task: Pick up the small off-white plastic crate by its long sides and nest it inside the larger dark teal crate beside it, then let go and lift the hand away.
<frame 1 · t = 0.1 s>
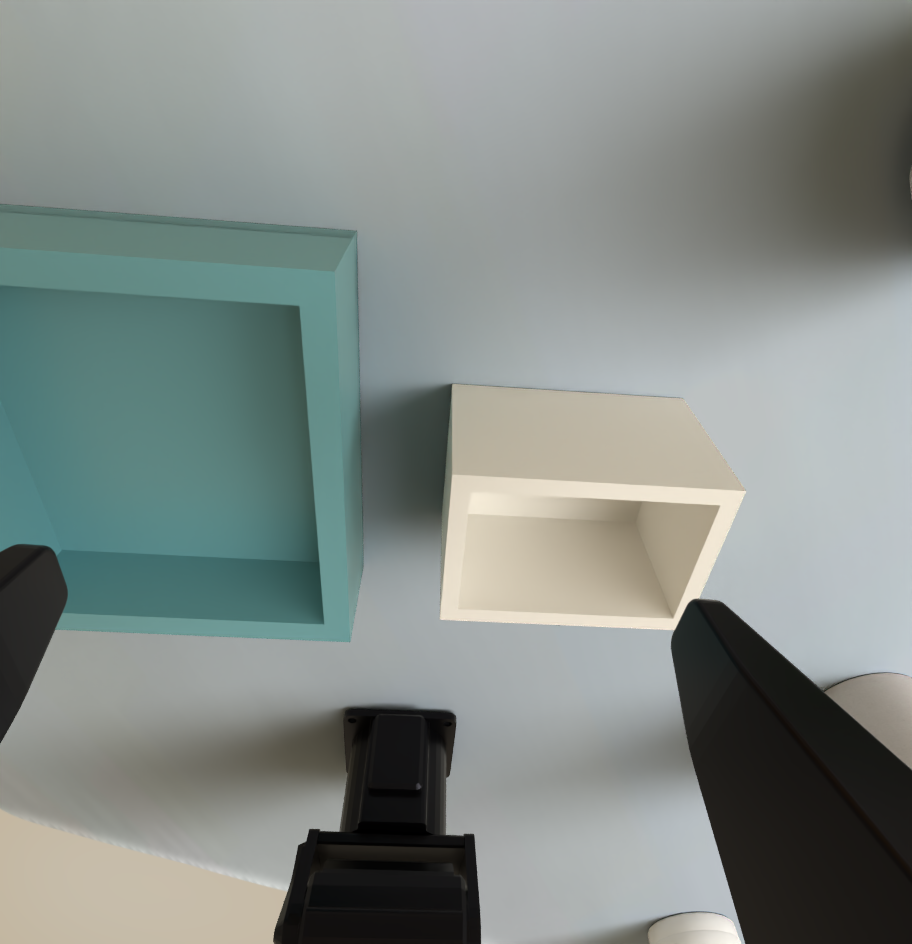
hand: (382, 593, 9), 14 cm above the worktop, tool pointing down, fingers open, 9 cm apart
small crate: (554, 460, 25), on the worktop
coffee cup: (861, 704, 35), on the worktop
big crate: (181, 417, 23), on the worktop
bottle: (689, 925, 54), on the worktop
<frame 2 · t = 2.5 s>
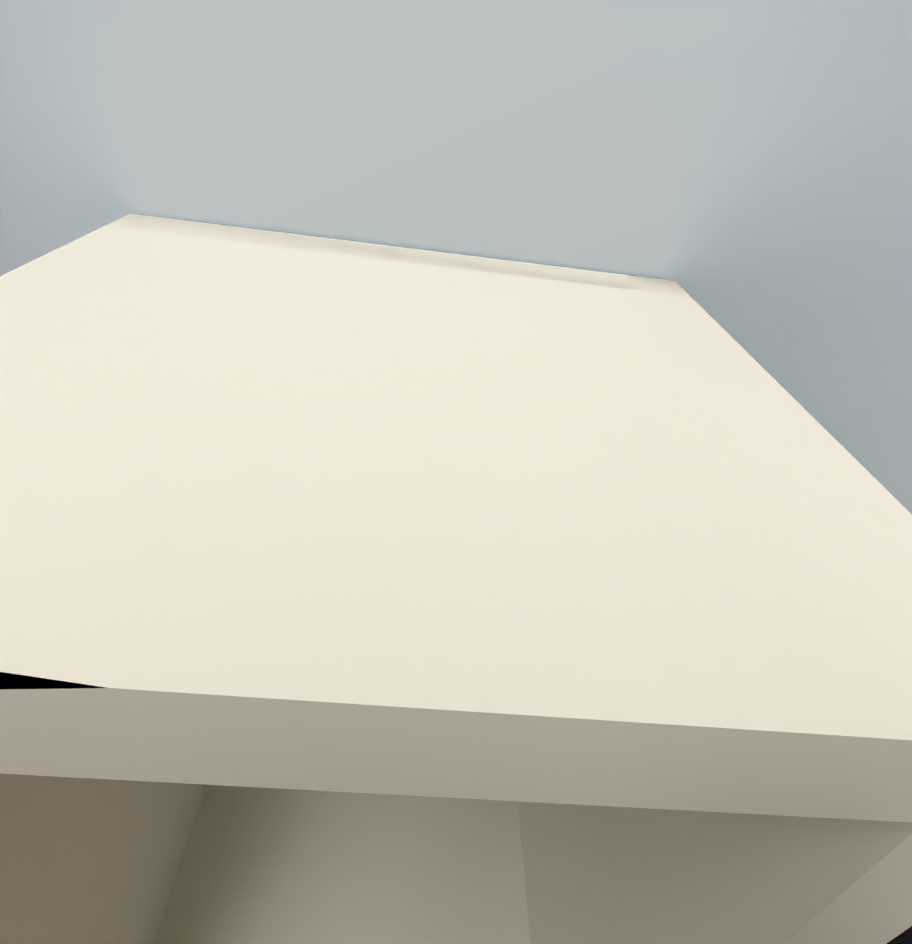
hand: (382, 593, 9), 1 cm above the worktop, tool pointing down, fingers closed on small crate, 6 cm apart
small crate: (389, 537, 10), on the worktop, touching gripper
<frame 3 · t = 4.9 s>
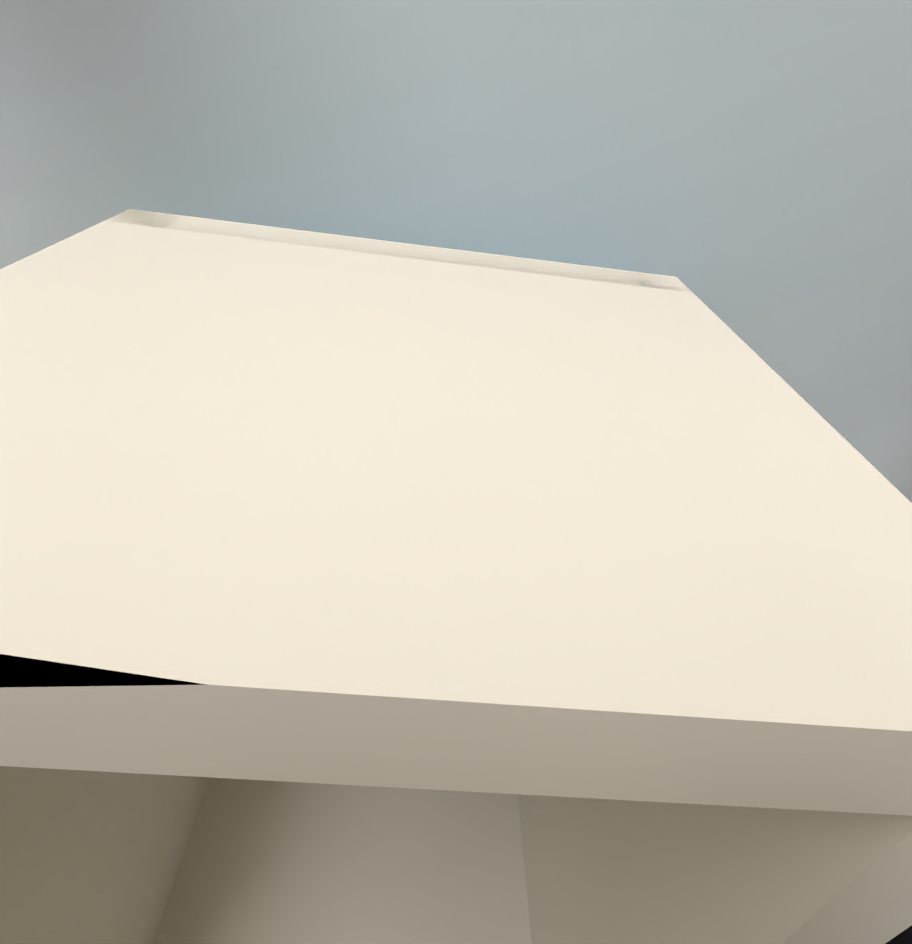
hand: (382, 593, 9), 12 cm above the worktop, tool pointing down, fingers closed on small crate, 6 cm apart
small crate: (390, 534, 10), point 10 cm above the worktop, touching gripper
when the fingers open (4 cm above the worktop, at t = 7.7 s): small crate drops 2 cm, resting on big crate.
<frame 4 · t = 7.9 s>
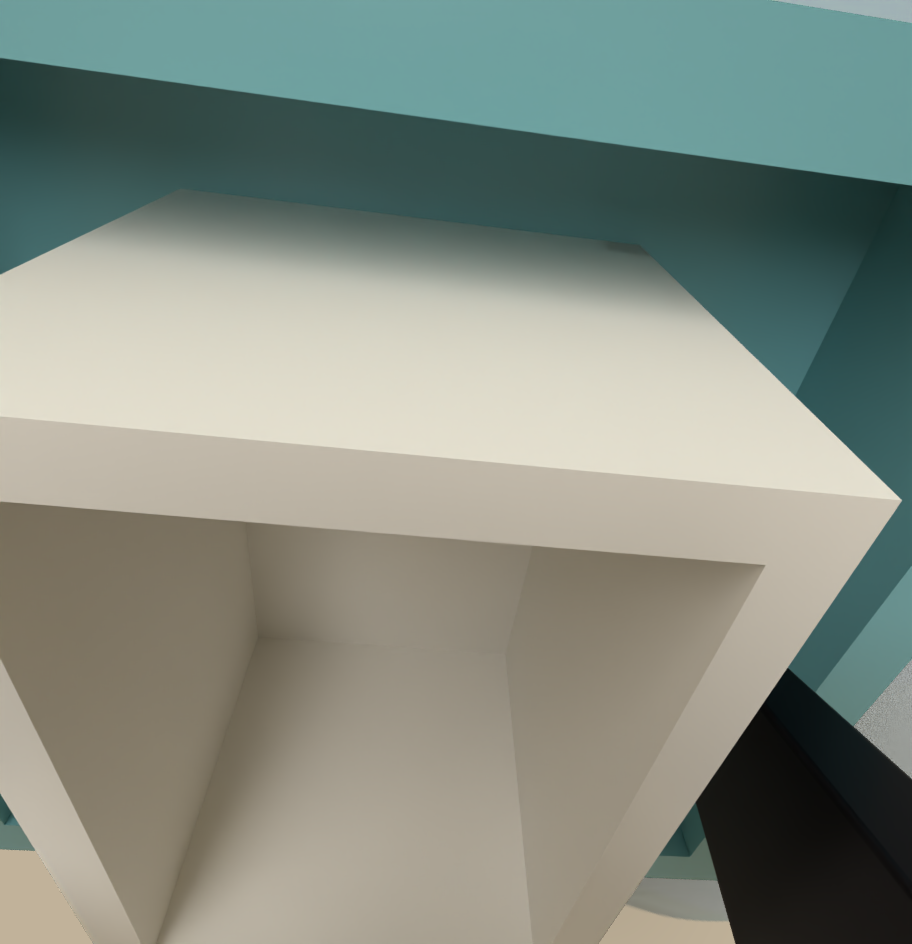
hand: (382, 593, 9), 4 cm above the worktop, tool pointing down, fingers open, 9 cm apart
small crate: (396, 479, 11), point 1 cm above the worktop, touching big crate
big crate: (399, 451, 12), on the worktop
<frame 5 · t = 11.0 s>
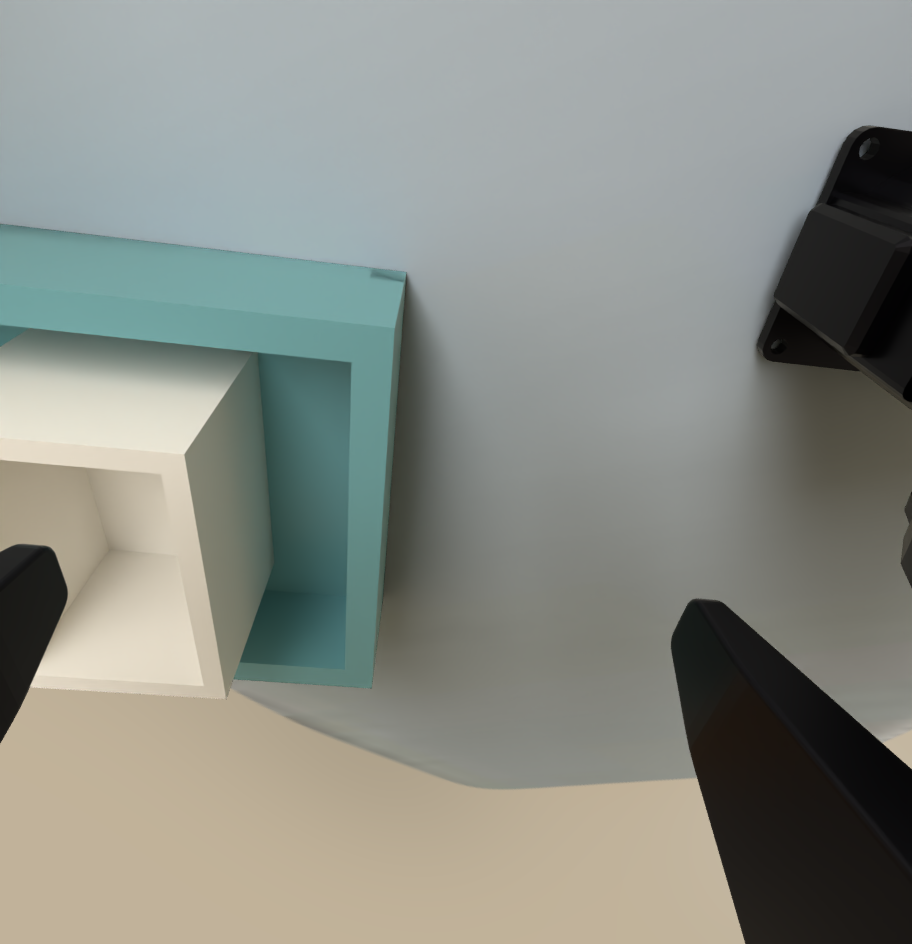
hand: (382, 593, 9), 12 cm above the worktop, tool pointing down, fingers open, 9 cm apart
small crate: (171, 459, 20), point 1 cm above the worktop, touching big crate
big crate: (182, 444, 21), on the worktop
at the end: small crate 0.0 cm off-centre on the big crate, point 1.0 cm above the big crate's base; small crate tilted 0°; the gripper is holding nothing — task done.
